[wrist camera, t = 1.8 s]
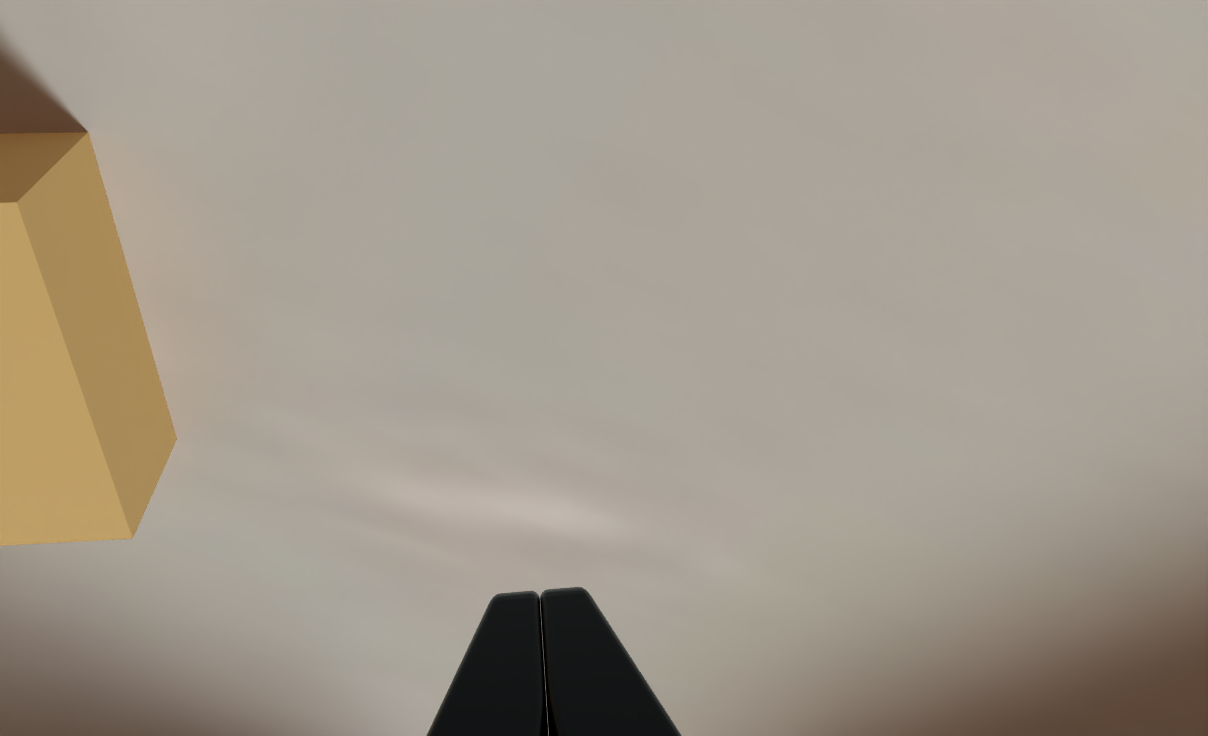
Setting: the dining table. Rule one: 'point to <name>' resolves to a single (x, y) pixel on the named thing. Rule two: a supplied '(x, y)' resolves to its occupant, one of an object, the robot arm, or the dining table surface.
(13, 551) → the dining table surface
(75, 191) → the tan cardboard box
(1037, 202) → the dining table surface
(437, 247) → the dining table surface
